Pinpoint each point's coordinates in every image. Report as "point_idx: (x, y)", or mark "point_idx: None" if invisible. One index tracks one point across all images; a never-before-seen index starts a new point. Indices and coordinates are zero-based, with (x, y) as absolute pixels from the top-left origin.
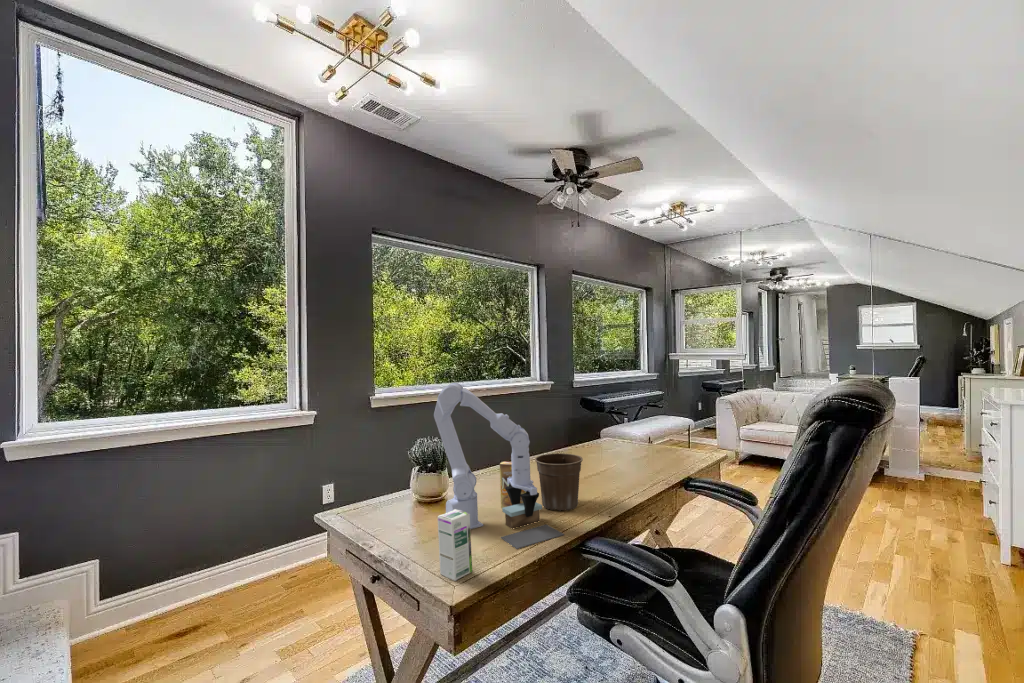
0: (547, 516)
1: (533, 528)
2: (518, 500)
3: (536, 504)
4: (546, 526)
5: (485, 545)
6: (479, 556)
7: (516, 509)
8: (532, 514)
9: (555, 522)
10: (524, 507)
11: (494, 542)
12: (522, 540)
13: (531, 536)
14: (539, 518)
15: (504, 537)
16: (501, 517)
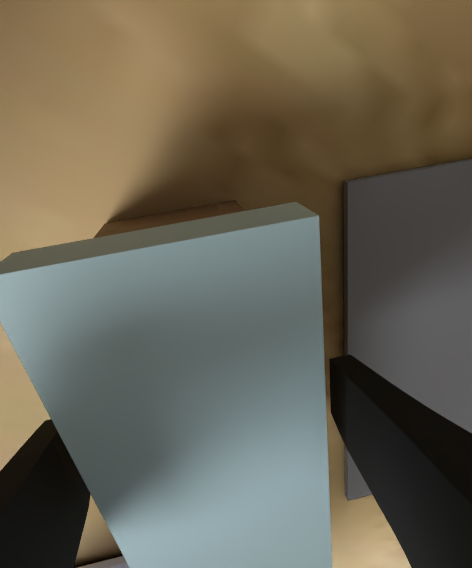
0: (121, 35)
1: (359, 316)
2: (26, 525)
3: (236, 291)
4: (390, 204)
5: (372, 547)
6: None
7: (273, 532)
8: (361, 364)
9: (335, 46)
10: (396, 524)
11: (369, 519)
12: (460, 421)
13: (455, 366)
14: (241, 210)
15: (366, 487)
16: (5, 450)
